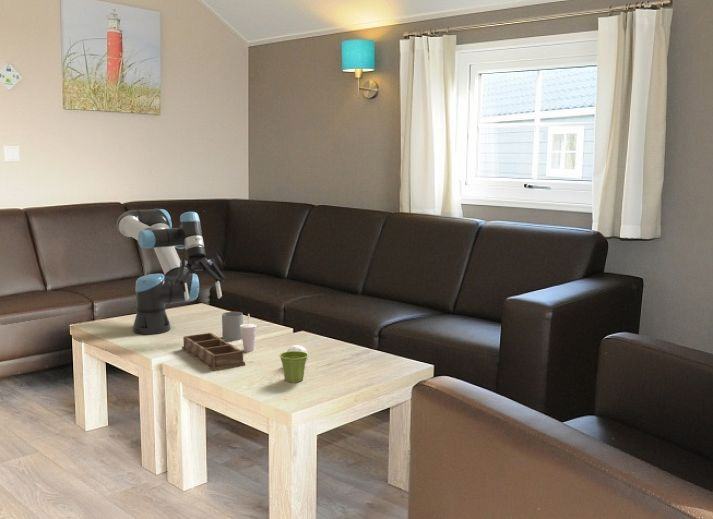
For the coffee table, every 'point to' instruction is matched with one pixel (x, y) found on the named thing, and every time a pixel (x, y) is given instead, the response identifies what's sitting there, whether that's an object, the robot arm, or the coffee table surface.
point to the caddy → (213, 351)
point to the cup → (232, 326)
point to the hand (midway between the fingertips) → (203, 298)
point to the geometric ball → (298, 349)
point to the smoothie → (248, 335)
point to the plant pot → (293, 365)
